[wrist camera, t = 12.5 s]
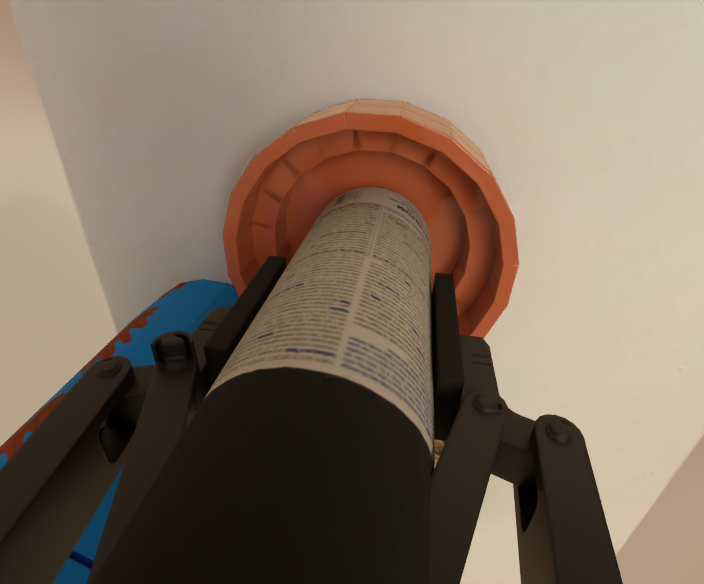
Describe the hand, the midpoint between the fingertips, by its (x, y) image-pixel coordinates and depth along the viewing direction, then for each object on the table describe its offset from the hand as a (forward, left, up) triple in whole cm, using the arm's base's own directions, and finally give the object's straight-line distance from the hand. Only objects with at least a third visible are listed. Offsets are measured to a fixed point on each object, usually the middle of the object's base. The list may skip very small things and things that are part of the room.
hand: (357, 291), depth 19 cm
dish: (0, 0, -7) cm, 7 cm away
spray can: (0, 0, -6) cm, 6 cm away
